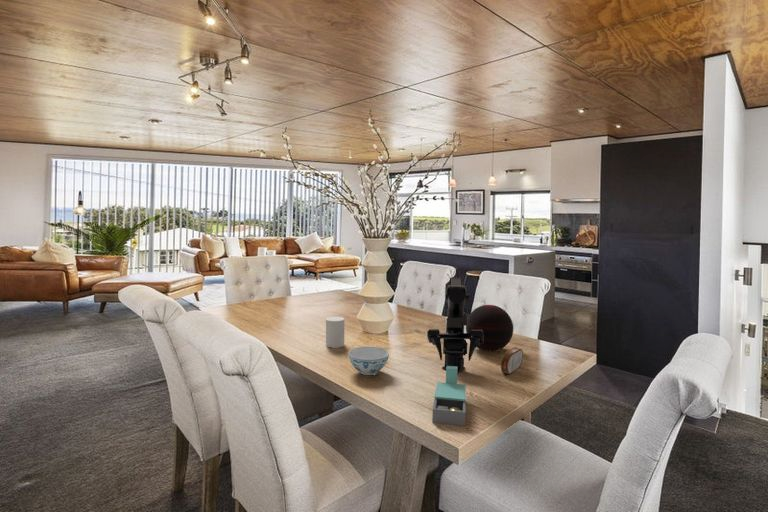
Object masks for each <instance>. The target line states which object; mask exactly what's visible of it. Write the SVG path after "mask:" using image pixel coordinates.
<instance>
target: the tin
mask: <svg viewBox="0 0 768 512" xmlns="http://www.w3.org/2000/svg"><path fill="white" fill-rule="evenodd" d="M523 355H524V351H523V349H522V348H520V347H517V346H514V347H512V348H510V349H508V350H506V351H505V352H504V354H503V356H502V358H501V362H500V363H501V364H500V369H501V373H503V374H506V375H511V374H512V373H514V372H516V371H517V370H519V369H520V368H521V365H522V363H523Z"/></svg>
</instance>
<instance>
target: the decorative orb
mask: <svg viewBox="0 0 768 512" xmlns="http://www.w3.org/2000/svg"><path fill="white" fill-rule="evenodd" d="M471 329H472V330H482V331H483V335H484V343H483V344H480V346H477V347H476V348H477V349H479V350H481V351H485V352H496V351H500V350H502V349H504V348H506V347H507V345H508V344H509V343H510V342H511V340H512V338H513V336H514V335H513V334H514V324H513V321H512V317H511V316H510V315H509V313H508V312H507V311H506V310H505V309H503V308H502V307H500V306H498V305H493V304H484V305H480V306H478V307H477V308H474V309H473V310H472V311H471V312H470V313H469V315H468V316H467V326H465V332H466V333H471ZM468 340H469V341H470V339H468Z"/></svg>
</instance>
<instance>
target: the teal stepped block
mask: <svg viewBox="0 0 768 512" xmlns="http://www.w3.org/2000/svg"><path fill="white" fill-rule="evenodd" d="M457 369H458V367H457V366H447V367H446V369H445V372H446V373H445V382H442V381H441V382H440V381H437V382H436V387H435V391H434V399H446V400H457V401H465V402H466V396H467V395H466V391H467V389H466V388H467V384H463V383H458V372H457Z"/></svg>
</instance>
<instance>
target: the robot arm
mask: <svg viewBox="0 0 768 512" xmlns="http://www.w3.org/2000/svg"><path fill="white" fill-rule="evenodd" d="M444 288H445V289H444V291H445V292H444V293H445V294H444V297H445V300H446V303H447V317H446V319H445V320H446V323H445V324H446V325H445V329H446V330H445V332H441V331H440V329H439V328H438V329H437V328H435V329H432V328H429V329H428V330H427V333H426V337H427V341H428V343H430V344H432V346H435V347H436V349H437V352H438V355H439V358H440V361H443V360H442V359H443V355H444V366H442V368H441V369H443V370H446V367H447V366H457V367H458V369H457V373H458V372H461V371H463V370H464V369H466V367H465V364H464V363H465V357H464V356H466V355H468V356H467V357H468V362H470V361H471V359H472V356H473V354H474V353H475V350H476V348H477V346H480V344H483V343H484V335H483V331H482V330H472V329H471V333H467V332H466V333H465V327H466V326H467V319H468V315H465V305H466V301H467V300H468V299H470V293H469V292H468V289H466V288H467V285H466V283H464V281H463V278H462V277H456V276H451V277H449V281H448V282H446V283H445V287H444ZM469 339H470V340H469ZM441 340H442V341H443V343H442V342H441ZM467 340H469V344H468V342H467ZM442 344H443V346H442ZM468 345H469V349H468ZM442 348H443V349H442Z"/></svg>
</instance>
